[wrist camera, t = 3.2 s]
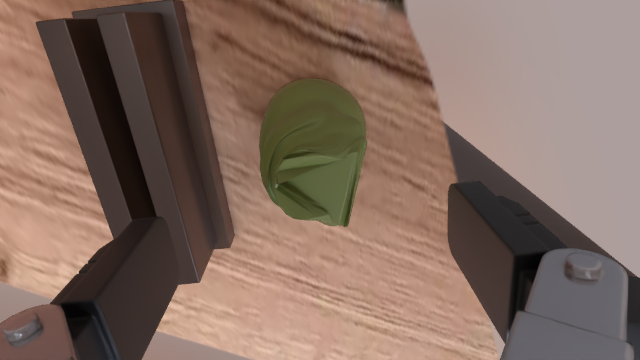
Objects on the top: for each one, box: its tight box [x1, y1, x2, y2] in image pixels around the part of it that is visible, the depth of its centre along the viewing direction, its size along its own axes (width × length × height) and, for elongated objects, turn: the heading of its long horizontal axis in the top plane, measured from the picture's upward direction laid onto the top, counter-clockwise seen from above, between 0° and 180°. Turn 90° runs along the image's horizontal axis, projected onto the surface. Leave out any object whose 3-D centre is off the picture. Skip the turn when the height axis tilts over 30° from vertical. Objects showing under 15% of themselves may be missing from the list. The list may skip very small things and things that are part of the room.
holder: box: [36, 0, 235, 285], centre depth 20 cm, size 5×14×6 cm, turn 6°
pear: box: [259, 78, 367, 227], centre depth 18 cm, size 6×5×10 cm
